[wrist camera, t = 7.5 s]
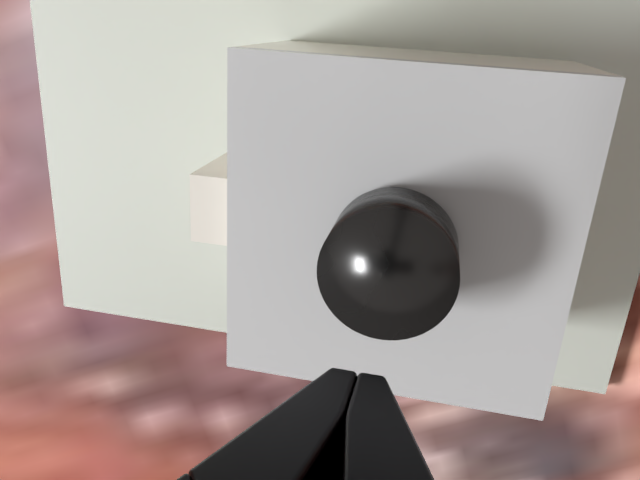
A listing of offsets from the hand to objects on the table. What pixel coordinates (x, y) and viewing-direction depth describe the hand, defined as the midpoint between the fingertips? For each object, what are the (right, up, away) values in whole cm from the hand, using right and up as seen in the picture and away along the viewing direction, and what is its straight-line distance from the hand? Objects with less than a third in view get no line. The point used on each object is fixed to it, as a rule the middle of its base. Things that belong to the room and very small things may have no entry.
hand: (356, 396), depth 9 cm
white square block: (+2, +4, +11) cm, 12 cm away
